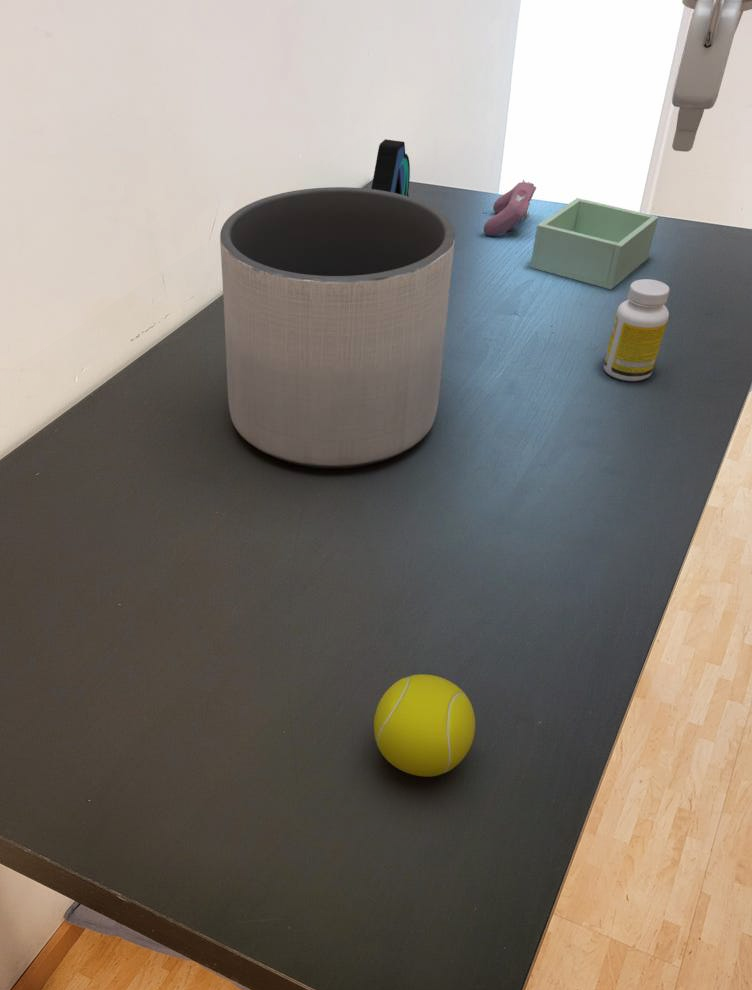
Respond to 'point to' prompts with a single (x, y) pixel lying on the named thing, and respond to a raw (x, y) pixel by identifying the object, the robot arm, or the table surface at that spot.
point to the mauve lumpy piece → (510, 209)
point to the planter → (335, 323)
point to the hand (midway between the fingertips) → (686, 132)
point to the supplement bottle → (638, 331)
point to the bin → (593, 242)
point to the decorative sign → (392, 168)
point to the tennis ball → (424, 725)
